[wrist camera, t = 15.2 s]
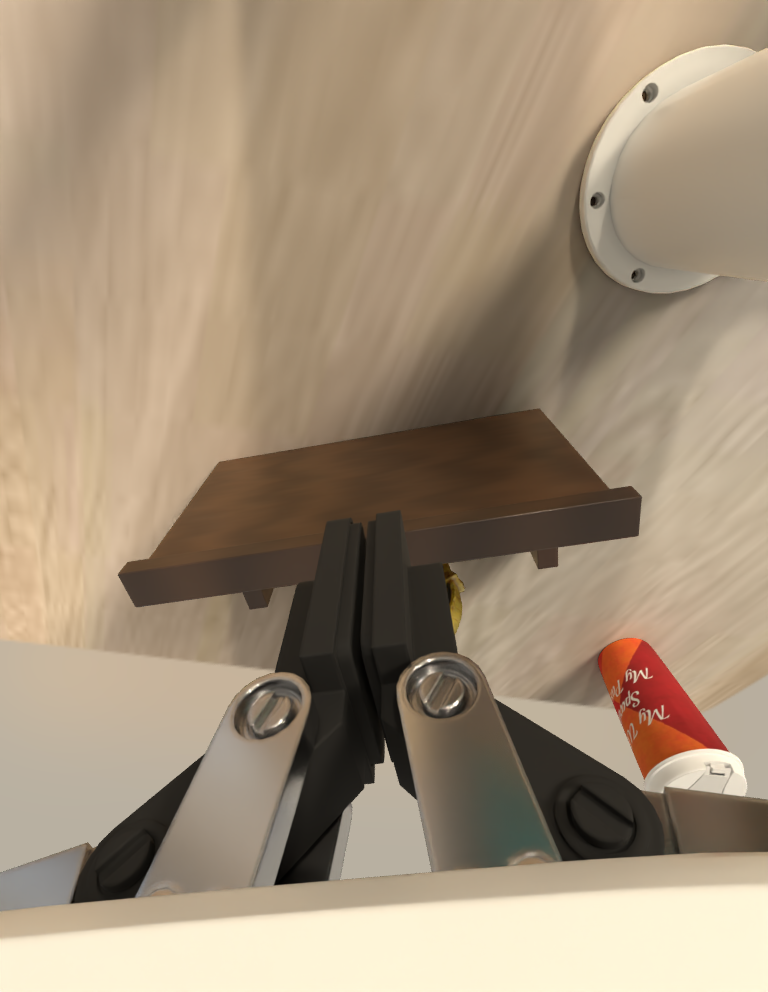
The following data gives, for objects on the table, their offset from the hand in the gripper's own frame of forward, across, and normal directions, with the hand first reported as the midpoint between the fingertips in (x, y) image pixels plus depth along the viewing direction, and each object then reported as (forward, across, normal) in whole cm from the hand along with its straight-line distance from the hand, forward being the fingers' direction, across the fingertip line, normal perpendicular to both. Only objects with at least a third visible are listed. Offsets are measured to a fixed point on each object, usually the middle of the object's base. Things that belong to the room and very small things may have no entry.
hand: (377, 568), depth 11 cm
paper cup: (+27, -19, +36) cm, 49 cm away
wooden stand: (+27, +2, +13) cm, 30 cm away
